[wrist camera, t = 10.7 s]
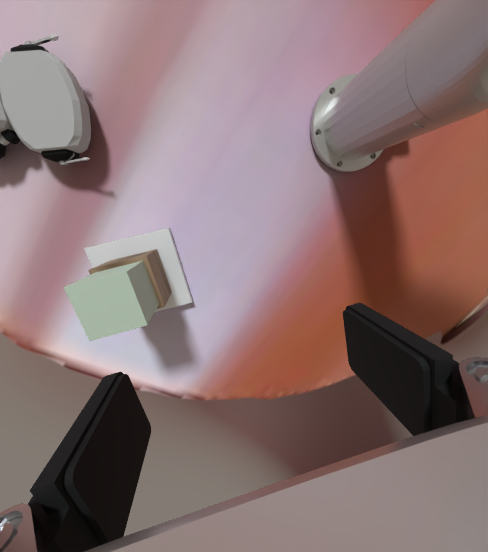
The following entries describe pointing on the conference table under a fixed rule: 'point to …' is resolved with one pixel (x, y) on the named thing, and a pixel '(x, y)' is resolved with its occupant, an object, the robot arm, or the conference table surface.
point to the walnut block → (153, 269)
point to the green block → (113, 300)
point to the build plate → (145, 243)
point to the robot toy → (42, 104)
